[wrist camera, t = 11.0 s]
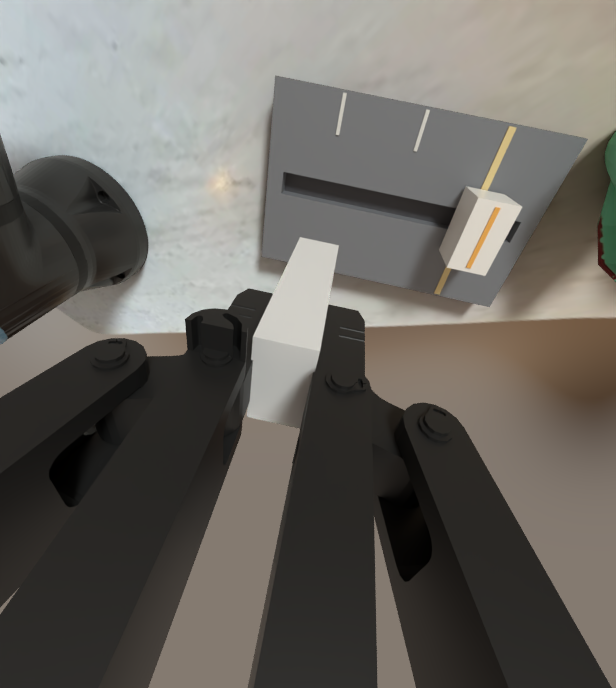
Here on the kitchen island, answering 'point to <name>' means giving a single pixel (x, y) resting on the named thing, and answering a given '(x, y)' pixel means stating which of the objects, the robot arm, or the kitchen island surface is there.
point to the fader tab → (478, 230)
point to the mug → (608, 216)
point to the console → (400, 184)
